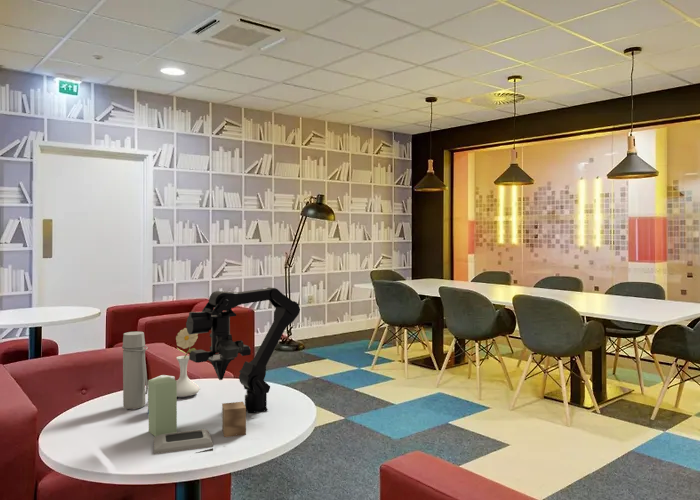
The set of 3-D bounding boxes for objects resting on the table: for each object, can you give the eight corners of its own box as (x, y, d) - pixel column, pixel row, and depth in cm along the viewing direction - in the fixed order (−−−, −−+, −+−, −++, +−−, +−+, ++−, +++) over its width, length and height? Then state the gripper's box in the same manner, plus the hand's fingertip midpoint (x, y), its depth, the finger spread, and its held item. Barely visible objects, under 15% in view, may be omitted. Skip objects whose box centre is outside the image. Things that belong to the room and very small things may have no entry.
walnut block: (243, 431, 160) (243, 401, 160) (245, 438, 154) (245, 407, 154) (222, 434, 158) (222, 403, 158) (224, 441, 152) (224, 409, 152)
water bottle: (117, 408, 180) (116, 334, 180) (134, 402, 187) (134, 330, 187) (138, 412, 177) (138, 336, 176) (155, 405, 184) (155, 332, 183)
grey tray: (153, 433, 149) (209, 426, 155) (153, 446, 149) (209, 439, 155) (154, 446, 140) (213, 438, 146) (154, 460, 140) (213, 452, 146)
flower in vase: (160, 396, 194) (159, 327, 194) (185, 388, 204) (184, 322, 203) (185, 402, 188) (184, 330, 187) (209, 394, 197) (209, 326, 197)
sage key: (169, 426, 160) (168, 376, 160) (176, 432, 156) (176, 380, 155) (148, 431, 157) (148, 379, 156) (155, 437, 152) (155, 384, 151)
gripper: (203, 338, 160) (203, 390, 160) (259, 331, 171) (259, 380, 172) (188, 332, 168) (188, 382, 169) (242, 326, 180) (242, 373, 180)
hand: (220, 379), depth 172 cm, fingers closed
